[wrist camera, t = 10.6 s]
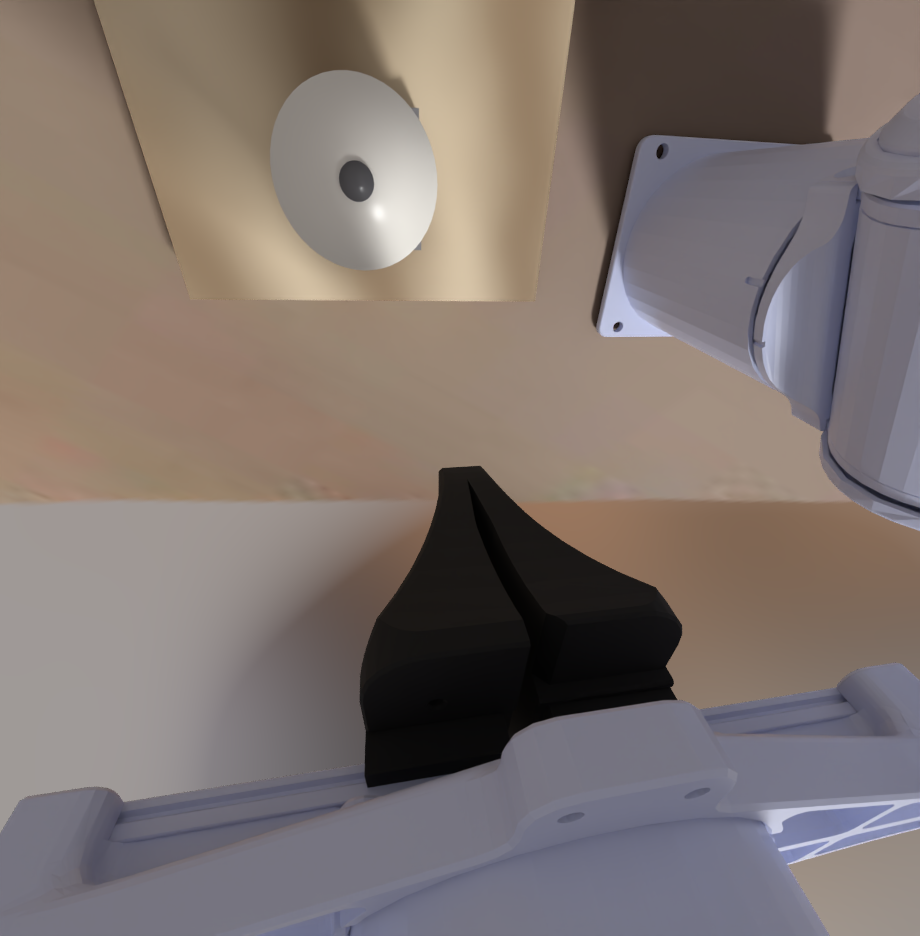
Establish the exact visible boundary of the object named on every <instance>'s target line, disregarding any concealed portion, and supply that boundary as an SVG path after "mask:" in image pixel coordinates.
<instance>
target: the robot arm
mask: <svg viewBox="0 0 920 936" xmlns="http://www.w3.org/2000/svg"><path fill="white" fill-rule="evenodd" d="M660 145H662V146H663V154H662V156H661V157H660V158H659V159H658V158H657V156H656V151H657V149H658V147H659V146H660ZM617 322H619V327H618V328H617V329H616V330H613V326H614V324H615V323H617ZM596 329H597V332H598V333H599V334H600V335H602V336H605V337H654V336H674V337H675V338H677V339H679V340H681V341H683V342H685V343H687V344H689V345H691V346H693V347H694V348H696V349H698V350H700V351H702V352H704V353H706V354H708V355H710V356H711V357H713V358H715V359H717V360H719V361H721V362H723V363H725V364H727V365H729V366H730V367H732V368H734V369H736V370H738V371H740V372H742V373H744V374H746V375H747V376H749V377H751V378H753V379H755V380H757V381H759V382H761V383H763V384H765V385H766V386H768V387H770V388H772V389H775V390H777V391H778V392H780V393H782V394H783V395H785V396H786V397H787V398H788V399H789V401H790V403H791V407H792V415H794V416H796V417H797V418H799V419H801V420H803V421H804V422H806V423H808V424H810V425H811V426H813V427H815V428H817V429H818V430H820V431H824V432H823V434H822V435H821V442H820V453H819V456H820V460H821V464H822V467H823V469H824V471H825V473H826V474H827V476H828V478H829V479H830V480H831V482H832V483H833V484H834V485H835V486H836V487H837V488H838V489H839V490H840V491H841V492H842V493H844V494H845V495H846V496H847V497H849V498H850V499H851V500H852V501H854V502H856V503H857V504H859V505H861V506H862V507H864V508H866V509H867V510H869V511H871V512H873V513H875V514H877V515H879V516H882V517H884V518H886V519H888V520H891V521H893V522H895V523H899V524H902V525H904V526H907V527H910V528H913V529H916V530H919V531H920V93H919V94H918V95H916V96H915V97H914V98H913V99H911V100H910V101H909V102H908V103H907V104H906V105H905V106H904V107H903V108H902V109H901V110H900V111H899V112H898V113H897V114H896V115H895V116H894V117H893V118H892V119H891V120H890V121H889V122H888V123H886V124H885V125H883V126H882V127H880V128H879V129H878V130H877V131H876V132H875V133H874V134H873V135H872V136H871V137H870V138H862V139H852V140H843V141H833V142H823V143H813V144H804V145H798V144H783V143H769V142H754V141H739V140H724V139H709V138H694V137H679V136H664V135H651V136H646V137H644V138H643V139H642V140H641V141H640V142H639V143H638V145H637V148H636V150H635V155H634V159H633V164H632V168H631V173H630V177H629V182H628V186H627V191H626V195H625V200H624V204H623V209H622V213H621V218H620V222H619V227H618V231H617V236H616V240H615V245H614V249H613V254H612V258H611V263H610V267H609V271H608V276H607V280H606V285H605V289H604V294H603V298H602V303H601V307H600V312H599V316H598V321H597V326H596ZM681 636H682V624H681V623H680V621H679V620H678V619H677V617H676V616H675V614H674V612H673V611H672V609H671V608H670V606H669V605H668V603H667V602H666V600H665V599H664V598H663V596H662V595H661V594H660V593H659V592H658V590H657V589H656V587H653V586H651V585H649V584H646V583H644V582H641V581H639V580H637V579H634V578H631V577H629V576H627V575H625V574H622V573H620V572H618V571H616V570H614V569H612V568H609V567H608V566H606V565H604V564H602V563H600V562H597V561H596V560H594V559H592V558H590V557H588V556H586V555H585V554H583V553H581V552H580V551H578V550H576V549H575V548H573V547H571V546H570V545H568V544H567V543H565V542H564V541H562V540H560V539H559V538H557V537H556V536H555V535H553V534H552V533H551V532H549V531H548V530H546V529H545V528H544V527H542V526H541V525H540V524H538V523H537V522H536V521H535V520H533V519H532V518H531V517H530V516H529V515H528V514H527V513H525V512H524V511H523V510H522V509H521V508H520V507H519V506H518V505H517V504H516V503H515V502H514V501H513V500H512V499H511V498H510V497H509V496H508V495H507V494H506V493H505V492H504V491H503V490H502V489H501V488H500V487H499V486H498V485H497V484H496V483H495V481H494V480H493V479H492V478H491V477H490V476H489V475H488V474H487V472H486V471H485V470H484V469H483V468H482V467H481V466H470V467H453V468H442V469H441V470H440V471H439V496H438V501H437V506H436V510H435V513H434V517H433V520H432V523H431V526H430V529H429V532H428V534H427V537H426V540H425V542H424V544H423V546H422V548H421V551H420V553H419V554H418V556H417V558H416V561H415V563H414V565H413V566H412V568H411V570H410V572H409V573H408V575H407V576H406V578H405V580H404V581H403V583H402V584H401V586H400V588H399V589H398V591H397V592H396V594H395V595H394V596H393V598H392V599H391V600H390V602H389V603H388V604H387V606H386V607H385V608H384V610H383V611H382V612H381V614H380V615H379V616H378V618H377V619H376V622H375V625H374V627H373V630H372V633H371V635H370V638H369V641H368V644H367V648H366V651H365V655H364V658H363V663H362V668H361V675H360V705H361V710H362V715H363V719H364V724H365V729H366V744H365V763H364V764H358V765H352V766H346V767H339V768H333V769H327V770H321V771H314V772H308V773H302V774H296V775H290V776H283V777H277V778H271V779H265V780H259V781H253V782H246V783H240V784H234V785H227V786H222V787H215V788H209V789H203V790H196V791H190V792H184V793H178V794H172V795H165V796H159V797H153V798H147V799H140V800H134V801H128V802H123V801H122V799H121V798H120V796H119V795H118V794H117V793H116V792H115V791H113V790H111V789H108V788H103V787H86V788H80V789H73V790H67V791H60V792H54V793H47V794H40V795H34V796H28V797H26V798H24V799H22V800H20V801H19V803H18V805H17V806H16V808H15V809H14V811H13V813H12V815H11V816H10V818H9V819H8V821H7V823H6V824H5V826H4V828H3V830H2V831H1V833H0V936H830V935H829V934H828V932H827V930H826V929H825V927H824V925H823V923H822V922H821V920H820V918H819V917H818V915H817V913H816V912H815V910H814V908H813V907H812V905H811V903H810V902H809V900H808V898H807V897H806V895H805V893H804V892H803V890H802V888H801V887H800V885H799V883H798V881H797V880H796V878H795V876H794V875H793V873H792V871H791V870H790V868H789V866H788V865H789V864H792V863H796V862H799V861H802V860H806V859H810V858H813V857H817V856H820V855H823V854H827V853H830V852H833V851H837V850H841V849H844V848H848V847H851V846H855V845H859V844H862V843H866V842H869V841H873V840H877V839H881V838H884V837H888V836H892V835H896V834H900V833H904V832H908V831H912V830H916V829H920V680H919V679H917V678H916V677H915V676H914V675H913V674H912V673H911V672H910V671H909V670H907V668H905V667H904V666H903V665H902V664H900V663H890V664H883V665H877V666H870V667H864V668H860V669H857V670H855V671H853V672H851V673H849V674H848V675H846V676H845V677H844V678H843V679H842V680H841V681H840V682H839V683H838V684H837V687H836V688H830V689H824V690H818V691H811V692H805V693H799V694H793V695H787V696H780V697H774V698H768V699H762V700H756V701H749V702H744V703H737V704H731V705H724V706H718V707H712V708H706V709H700V710H699V709H698V708H696V707H695V706H693V705H692V704H690V703H688V702H686V701H683V700H677V699H676V697H675V695H674V693H673V692H672V690H671V688H670V687H672V686H673V684H674V681H673V679H672V677H671V675H670V673H669V671H668V670H667V668H666V665H667V663H668V661H669V659H670V658H671V656H672V654H673V652H674V651H675V649H676V647H677V646H678V643H679V641H680V638H681Z"/></svg>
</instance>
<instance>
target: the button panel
mask: <svg viewBox="0 0 920 936" xmlns="http://www.w3.org/2000/svg"><path fill="white" fill-rule="evenodd" d="M94 3H95V6H96V9H97V13H98V16H99V19H100V22H101V25H102V28H103V31H104V34H105V37H106V40H107V43H108V47H109V50H110V53H111V56H112V59H113V62H114V65H115V68H116V71H117V74H118V77H119V81H120V84H121V87H122V90H123V93H124V96H125V99H126V102H127V105H128V108H129V111H130V115H131V118H132V121H133V124H134V127H135V130H136V133H137V136H138V139H139V142H140V146H141V149H142V152H143V155H144V158H145V161H146V164H147V167H148V170H149V173H150V176H151V180H152V183H153V186H154V189H155V192H156V195H157V198H158V201H159V204H160V207H161V210H162V214H163V217H164V220H165V223H166V226H167V229H168V232H169V235H170V238H171V241H172V244H173V248H174V251H175V254H176V257H177V260H178V263H179V266H180V269H181V272H182V275H183V279H184V282H185V285H186V288H187V291H188V294H189V297H190V299H211V300H374V301H535V297H536V290H537V282H538V275H539V267H540V260H541V252H542V245H543V237H544V230H545V222H546V215H547V207H548V200H549V192H550V185H551V177H552V170H553V163H554V155H555V148H556V140H557V133H558V125H559V118H560V110H561V103H562V95H563V88H564V80H565V73H566V65H567V58H568V50H569V43H570V35H571V28H572V20H573V13H574V6H575V0H94ZM333 70H349V71H355V72H360V73H363V74H366V75H369V76H372V77H374V78H376V79H378V80H379V81H381V82H383V83H385V84H386V85H387V86H389V87H390V88H392V89H393V90H394V91H395V92H396V93H397V94H399V95H400V96H401V97H402V98H403V99H404V100H405V101H406V103H407V104H408V105H409V106H410V107H411V109H412V110H413V111H414V113H415V114H416V116H417V117H418V119H419V120H420V122H421V124H422V126H423V128H424V130H425V132H426V134H427V136H428V139H429V142H430V144H431V147H432V151H433V155H434V158H435V164H436V170H437V199H436V205H435V210H434V214H433V217H432V221H431V223H430V225H429V228H428V230H427V232H426V234H425V235H424V237H423V239H422V240H421V242H420V243H419V244H418V246H417V247H416V248H415V249H414V250H413V251H412V252H411V253H410V254H409V255H408V256H406V257H405V258H404V259H402V260H401V261H399V262H397V263H395V264H393V265H391V266H388V267H385V268H382V269H377V270H365V271H364V270H354V269H350V268H345V267H343V266H340V265H337V264H335V263H333V262H331V261H329V260H327V259H325V258H324V257H322V256H321V255H319V254H318V253H316V252H315V251H314V250H313V249H312V248H310V247H309V246H308V245H307V244H306V243H305V242H304V241H303V240H302V239H301V237H300V236H299V235H298V234H297V232H296V231H295V230H294V229H293V227H292V226H291V224H290V222H289V221H288V219H287V218H286V216H285V214H284V212H283V210H282V208H281V206H280V203H279V201H278V198H277V195H276V192H275V188H274V184H273V180H272V174H271V167H270V146H271V137H272V132H273V128H274V124H275V121H276V119H277V116H278V113H279V111H280V109H281V108H282V106H283V104H284V102H285V101H286V99H287V98H288V97H289V96H290V94H291V93H292V92H293V91H294V90H295V89H296V88H297V87H298V86H299V85H300V84H301V83H303V82H304V81H306V80H308V79H309V78H311V77H313V76H315V75H318V74H320V73H323V72H328V71H333Z"/></svg>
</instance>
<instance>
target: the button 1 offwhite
mask: <svg viewBox="0 0 920 936" xmlns="http://www.w3.org/2000/svg"><path fill="white" fill-rule="evenodd" d="M270 167H271V174H272V180H273V184H274V188H275V192H276V195H277V198H278V201H279V203H280V206H281V208H282V210H283V212H284V214H285V216H286V218H287V219H288V221H289V222H290V224H291V226H292V227H293V229H294V230H295V231H296V232H297V234H298V235H299V236H300V237H301V239H302V240H303V241H304V242H305V243H306V244H307V245H308V246H309V247H310V248H312V249H313V250H314V251H315V252H316V253H318V254H319V255H321V256H322V257H324V258H325V259H327V260H329V261H331V262H333V263H335V264H337V265H340V266H343V267H345V268H350V269H354V270H364V271H365V270H377V269H382V268H385V267H388V266H391V265H393V264H395V263H397V262H399V261H401V260H402V259H404V258H405V257H406V256H408V255H409V254H410V253H411V252H412V251H413V250H414V249H415V248H416V247H417V246H418V244H419V243H420V242H421V240H422V239H423V237H424V235H425V234H426V232H427V230H428V228H429V225H430V223H431V221H432V217H433V214H434V210H435V205H436V199H437V170H436V164H435V158H434V155H433V151H432V147H431V144H430V142H429V139H428V136H427V134H426V132H425V130H424V128H423V126H422V124H421V122H420V120H419V119H418V117H417V116H416V114H415V113H414V111H413V110H412V109H411V107H410V106H409V105H408V104H407V103H406V101H405V100H404V99H403V98H402V97H401V96H400V95H399V94H397V93H396V92H395V91H394V90H393V89H392V88H390V87H389V86H387V85H386V84H385V83H383V82H381V81H379V80H378V79H376V78H374V77H372V76H369V75H366V74H363V73H360V72H355V71H349V70H333V71H328V72H323V73H320V74H318V75H315V76H313V77H311V78H309V79H308V80H306V81H304V82H303V83H301V84H300V85H299V86H298V87H297V88H296V89H295V90H294V91H293V92H292V93H291V94H290V96H289V97H288V98H287V99H286V101H285V102H284V104H283V106H282V108H281V109H280V111H279V113H278V116H277V119H276V121H275V124H274V128H273V132H272V137H271V146H270Z"/></svg>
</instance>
